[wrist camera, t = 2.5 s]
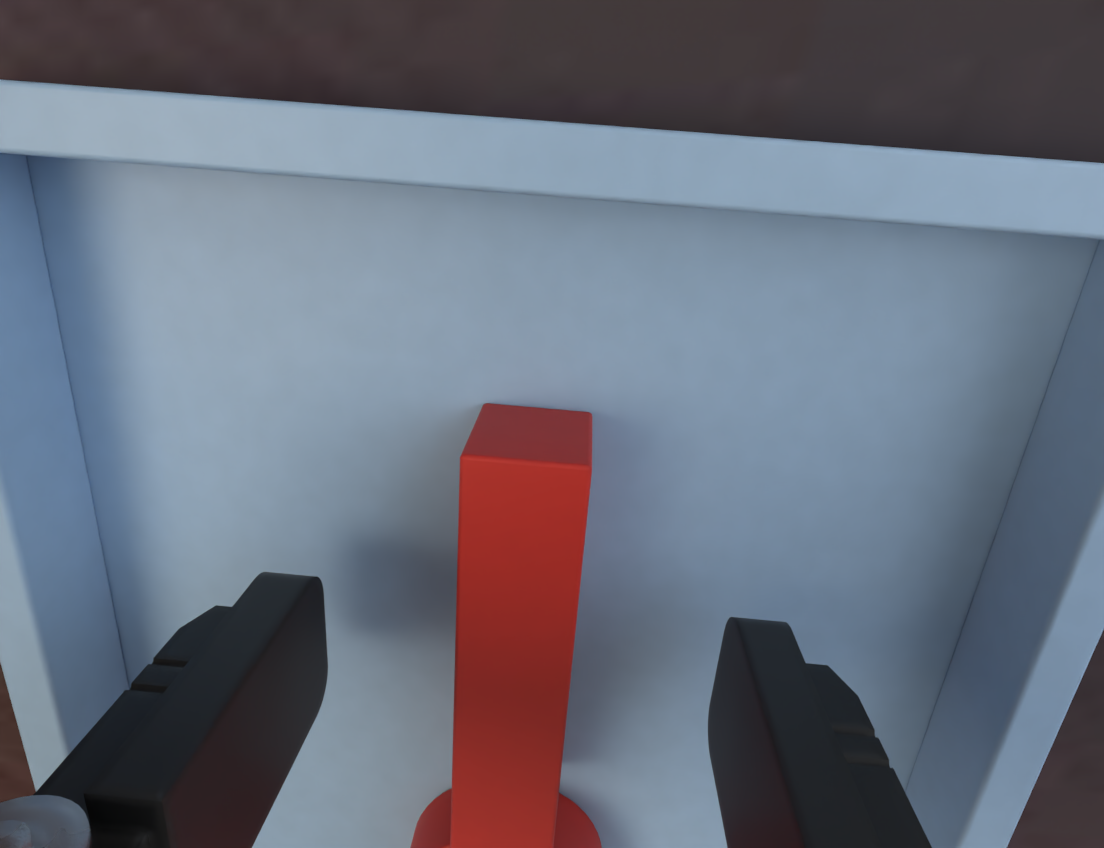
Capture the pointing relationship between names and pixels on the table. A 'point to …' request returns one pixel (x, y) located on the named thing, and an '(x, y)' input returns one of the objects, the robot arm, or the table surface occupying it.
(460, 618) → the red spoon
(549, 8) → the table surface
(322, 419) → the blue tray
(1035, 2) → the table surface
